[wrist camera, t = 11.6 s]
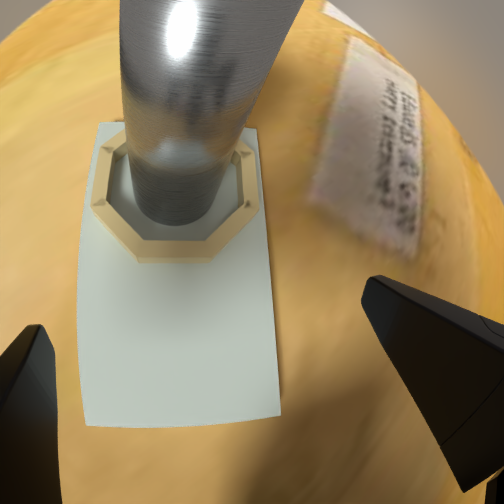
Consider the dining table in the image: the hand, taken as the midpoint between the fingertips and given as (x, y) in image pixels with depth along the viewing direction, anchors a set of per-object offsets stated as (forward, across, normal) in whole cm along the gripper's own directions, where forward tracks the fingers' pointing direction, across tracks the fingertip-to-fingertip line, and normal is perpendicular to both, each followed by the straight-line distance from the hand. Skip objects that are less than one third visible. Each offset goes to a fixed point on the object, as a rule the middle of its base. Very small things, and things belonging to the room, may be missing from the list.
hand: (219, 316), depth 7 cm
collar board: (+9, 0, +4) cm, 9 cm away
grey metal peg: (+11, 0, 0) cm, 11 cm away
